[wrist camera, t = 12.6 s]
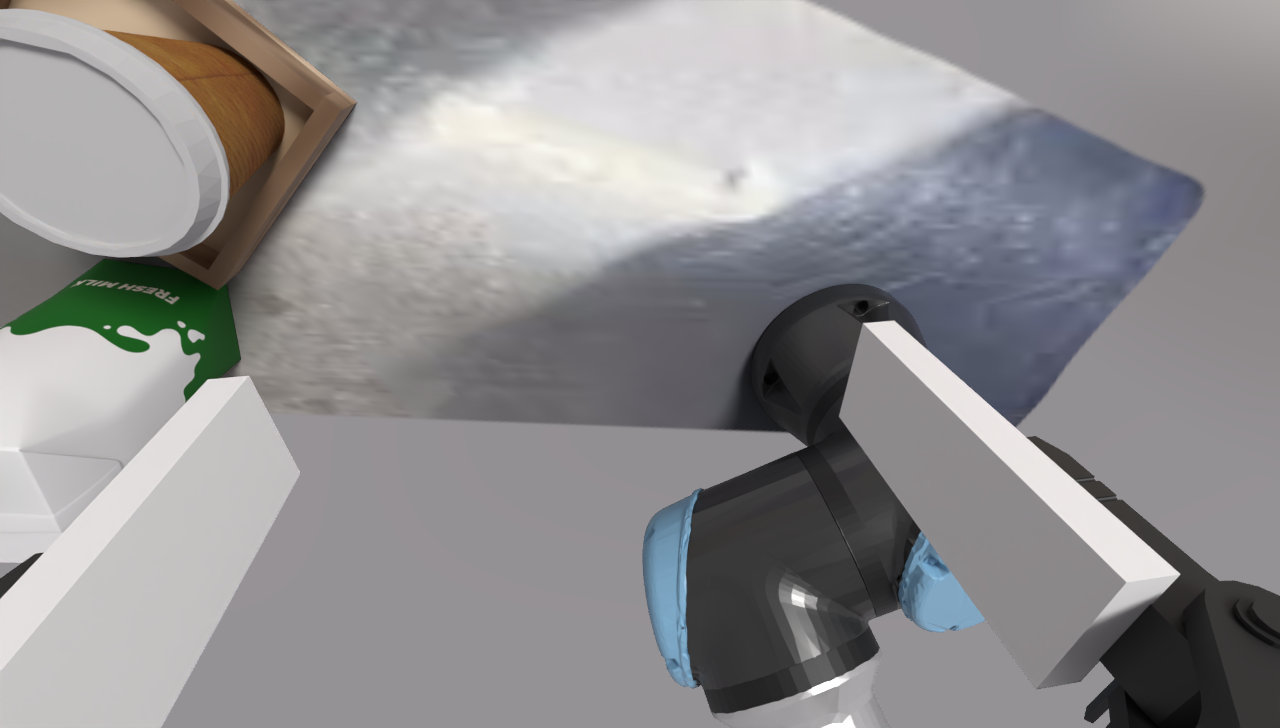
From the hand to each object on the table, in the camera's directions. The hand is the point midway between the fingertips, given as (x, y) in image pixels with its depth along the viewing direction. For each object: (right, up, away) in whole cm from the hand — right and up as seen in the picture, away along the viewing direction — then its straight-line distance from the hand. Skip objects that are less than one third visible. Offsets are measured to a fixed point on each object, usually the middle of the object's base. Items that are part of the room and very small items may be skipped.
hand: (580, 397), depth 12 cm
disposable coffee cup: (-23, +16, +19) cm, 33 cm away
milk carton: (-32, +4, +26) cm, 41 cm away
